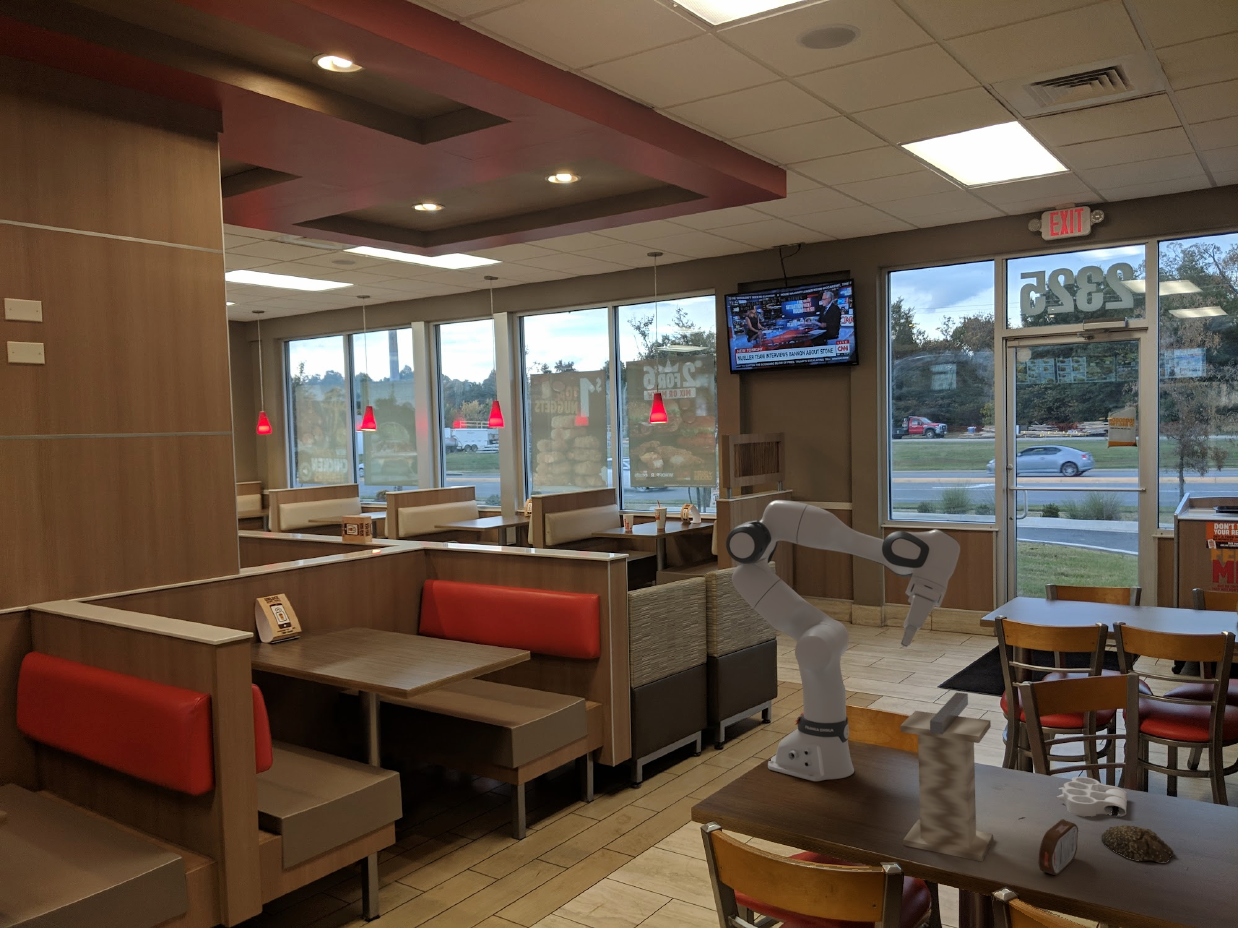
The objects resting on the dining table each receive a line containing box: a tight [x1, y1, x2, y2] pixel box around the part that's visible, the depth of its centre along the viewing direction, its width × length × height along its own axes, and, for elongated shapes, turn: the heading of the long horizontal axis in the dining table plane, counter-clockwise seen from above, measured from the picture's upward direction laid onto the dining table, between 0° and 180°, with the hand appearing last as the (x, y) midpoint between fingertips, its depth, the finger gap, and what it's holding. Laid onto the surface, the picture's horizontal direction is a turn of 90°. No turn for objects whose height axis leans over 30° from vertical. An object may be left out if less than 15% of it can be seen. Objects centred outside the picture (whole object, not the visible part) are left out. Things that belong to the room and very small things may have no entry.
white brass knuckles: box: [1055, 776, 1128, 817], centre depth 216 cm, size 3×18×15 cm
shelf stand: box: [899, 710, 994, 862], centre depth 197 cm, size 16×12×26 cm
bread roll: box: [1100, 824, 1175, 863], centre depth 191 cm, size 13×12×5 cm
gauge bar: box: [930, 692, 969, 734], centre depth 200 cm, size 24×2×2 cm, turn 147°
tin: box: [1038, 818, 1079, 876], centre depth 185 cm, size 15×3×8 cm, turn 134°
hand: (904, 645), depth 227 cm, fingers open, 8 cm apart
